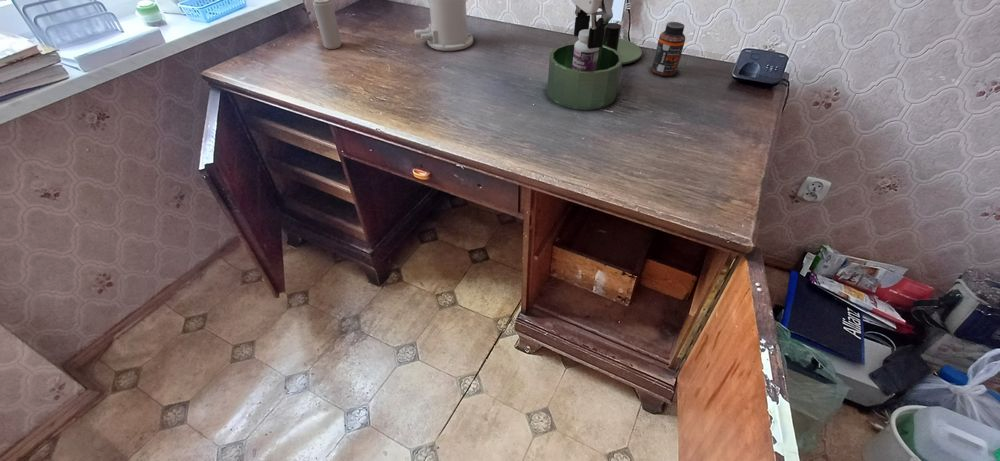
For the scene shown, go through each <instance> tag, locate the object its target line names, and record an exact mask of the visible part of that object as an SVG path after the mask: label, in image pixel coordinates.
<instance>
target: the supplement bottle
mask: <svg viewBox="0 0 1000 461" xmlns="http://www.w3.org/2000/svg"><path fill="white" fill-rule="evenodd" d="M684 31H685V24H684V23H682V22H678V21H669V22H667V23H666V25H665V30H663V31H662V32H661V33H660V34H659V37H658V41H657V45H656V49H655V53H654V57H653V60H652V64H651V70H652V72H653V73H654V74H656V75H658V76H662V77H671V76H674V75H675V74H676V73H677V70H678V68H679V64H680V61H681V56H682V54H683V50H684V46H685V42H686V35H685V34H684Z"/></svg>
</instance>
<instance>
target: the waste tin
mask: <svg viewBox="0 0 1000 461" xmlns="http://www.w3.org/2000/svg"><path fill="white" fill-rule="evenodd" d="M575 43H576V42H571V43H565V44H561V45H559V46H556V47H555V48H553V49H552V50H551V51H550V52H549V58H548V59H549V60H548V75H547V86H546V87H547V88H546V89H547V91H546V94H547V96H548V98H549V99H550V100H551V101H552V102H553V103H556V104H557V105H559V106H560V107H564V108H567V109H572V110H582V111H591V110H599V109H602V108H603V109H604V108H606V107H608V106H610V105H611V104H613V103H614V102H615V100H616V97H617V96H618V90H619V84H620V79H621V75H622V74H621V73H622V68H623V65H624V64H623V60H622V55H621V54H619V53H618V52H617V51H616V50H614V49H612V48H609V47H607V46H604V45H602V47H600V48H599V53H598V60H597V67H596V71H580V70H575V69H572V62H573V53H574V45H575Z"/></svg>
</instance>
